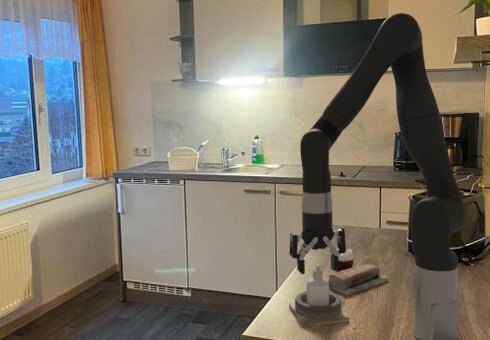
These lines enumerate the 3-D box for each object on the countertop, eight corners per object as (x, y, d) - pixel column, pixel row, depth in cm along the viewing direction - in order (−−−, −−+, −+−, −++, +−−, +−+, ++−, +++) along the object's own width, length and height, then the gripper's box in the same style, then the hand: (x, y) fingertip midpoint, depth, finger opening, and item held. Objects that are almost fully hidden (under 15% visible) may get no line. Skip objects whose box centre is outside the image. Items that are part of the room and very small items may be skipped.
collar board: (349, 321, 133) (349, 305, 133) (303, 326, 131) (303, 310, 130) (331, 302, 145) (331, 288, 144) (289, 307, 142) (289, 292, 142)
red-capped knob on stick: (350, 275, 167) (351, 238, 164) (330, 272, 169) (331, 236, 167) (356, 264, 175) (357, 229, 173) (337, 262, 178) (338, 227, 175)
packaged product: (348, 281, 149) (322, 272, 157) (348, 297, 150) (322, 287, 157) (388, 266, 160) (362, 258, 167) (388, 282, 160) (362, 273, 168)
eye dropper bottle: (326, 314, 134) (326, 269, 133) (304, 311, 137) (304, 266, 135) (330, 308, 138) (330, 263, 137) (309, 305, 141) (309, 261, 139)
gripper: (294, 214, 128) (296, 279, 130) (349, 209, 131) (350, 273, 133) (285, 208, 135) (286, 270, 137) (337, 204, 138) (338, 264, 140)
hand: (318, 271), depth 135 cm, fingers open, 8 cm apart
